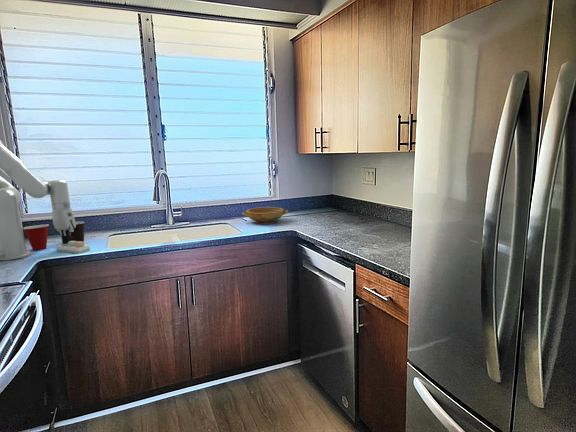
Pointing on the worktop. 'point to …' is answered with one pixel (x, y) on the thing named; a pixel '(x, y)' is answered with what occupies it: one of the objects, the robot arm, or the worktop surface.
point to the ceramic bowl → (265, 214)
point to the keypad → (73, 248)
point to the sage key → (71, 243)
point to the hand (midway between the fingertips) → (66, 243)
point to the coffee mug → (78, 232)
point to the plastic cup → (37, 236)
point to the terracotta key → (79, 244)
